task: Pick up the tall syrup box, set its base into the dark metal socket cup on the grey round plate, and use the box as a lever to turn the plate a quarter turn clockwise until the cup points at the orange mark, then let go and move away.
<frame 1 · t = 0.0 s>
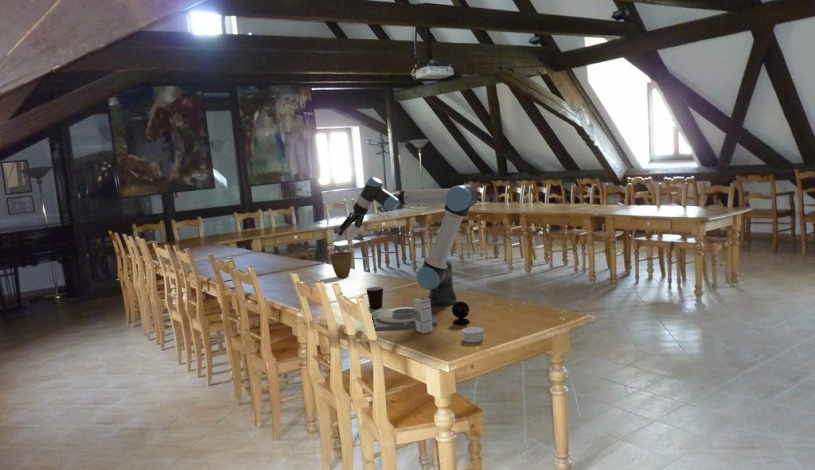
hand: (343, 238, 330), 36 cm above the table, tool tilted 35°, fingers open, 13 cm apart
grey round plate: (402, 312, 296), point 4 cm above the table, hinge at 0.0°
dial base: (403, 320, 296), on the table
coffee mug: (376, 307, 327), on the table
ramekin: (473, 340, 258), on the table
syrup box: (424, 331, 275), on the table
webcam: (461, 323, 285), on the table
plant pot: (342, 277, 417), on the table
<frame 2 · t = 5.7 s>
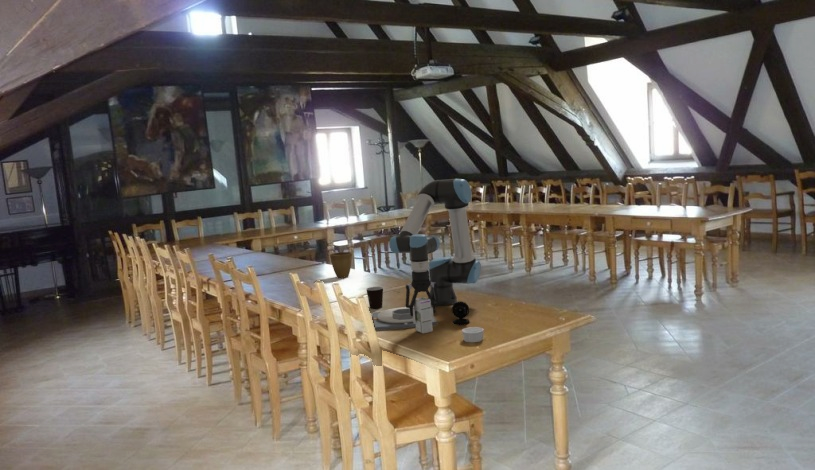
hand: (423, 322, 275), 4 cm above the table, tool pointing down, fingers closed on syrup box, 7 cm apart
syrup box: (424, 331, 275), on the table, touching gripper
everything else where it was.
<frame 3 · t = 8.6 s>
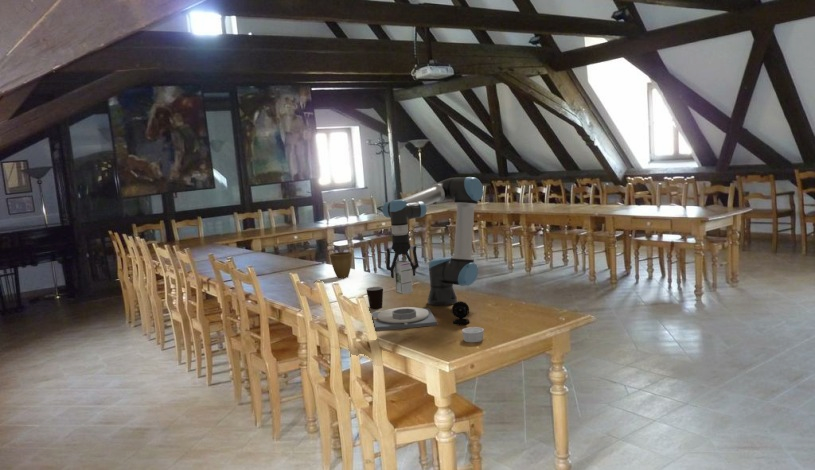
hand: (403, 283, 287), 19 cm above the table, tool pointing down, fingers closed on syrup box, 7 cm apart
syrup box: (404, 293, 288), point 14 cm above the table, touching gripper
everything else where it was.
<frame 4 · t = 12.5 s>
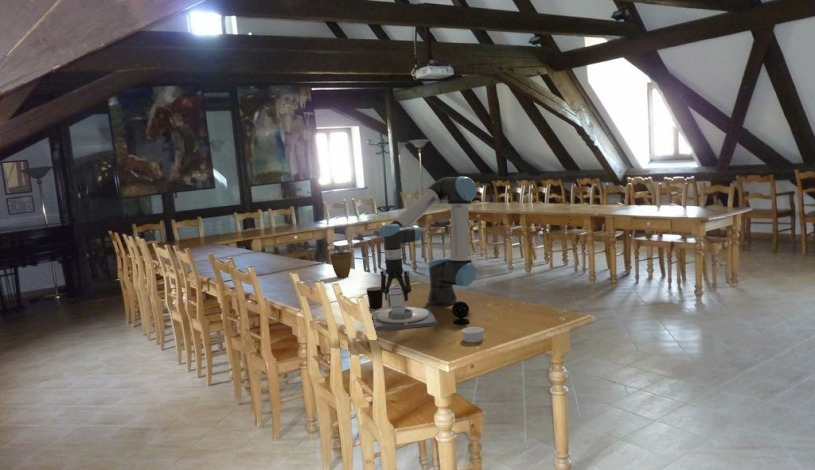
hand: (397, 307, 289), 8 cm above the table, tool pointing down, fingers closed on syrup box, 7 cm apart
grey round plate: (402, 312, 296), point 4 cm above the table, hinge at -14.6°, touching syrup box
syrup box: (398, 316, 290), point 3 cm above the table, touching grey round plate, gripper
everything else where it was.
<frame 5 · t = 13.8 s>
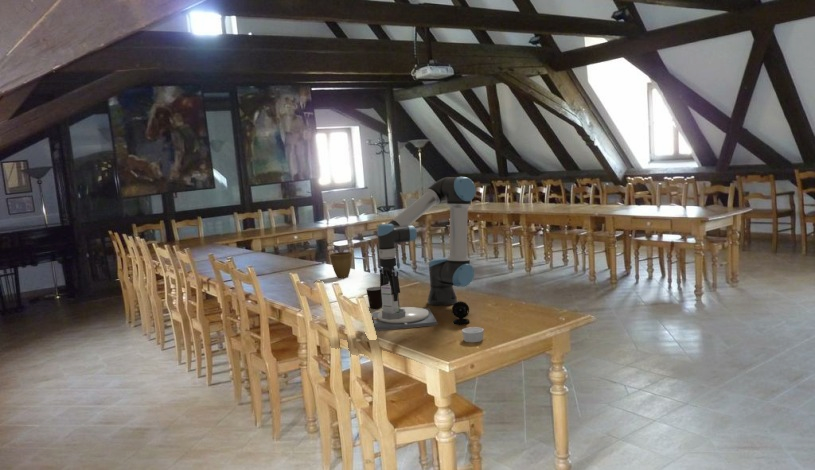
hand: (391, 306, 292), 8 cm above the table, tool pointing down, fingers closed on syrup box, 7 cm apart
grey round plate: (402, 312, 296), point 4 cm above the table, hinge at -47.4°, touching syrup box
syrup box: (391, 315, 292), point 3 cm above the table, touching grey round plate, gripper
everything else where it was.
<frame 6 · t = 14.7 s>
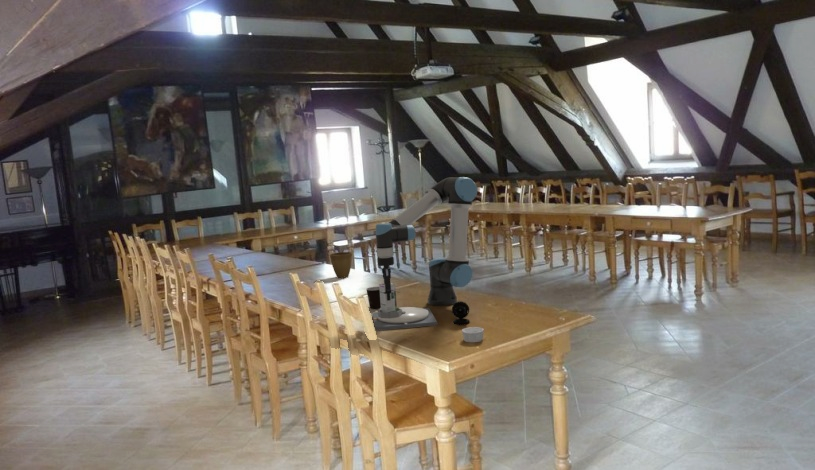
hand: (388, 305, 294), 8 cm above the table, tool pointing down, fingers closed on syrup box, 7 cm apart
grey round plate: (402, 312, 296), point 4 cm above the table, hinge at -73.7°, touching syrup box
syrup box: (389, 314, 295), point 3 cm above the table, touching grey round plate, gripper
everything else where it was.
when the fingers open (8 cm above the table, at t = 15.3 s): syrup box stays where it is, resting on grey round plate.
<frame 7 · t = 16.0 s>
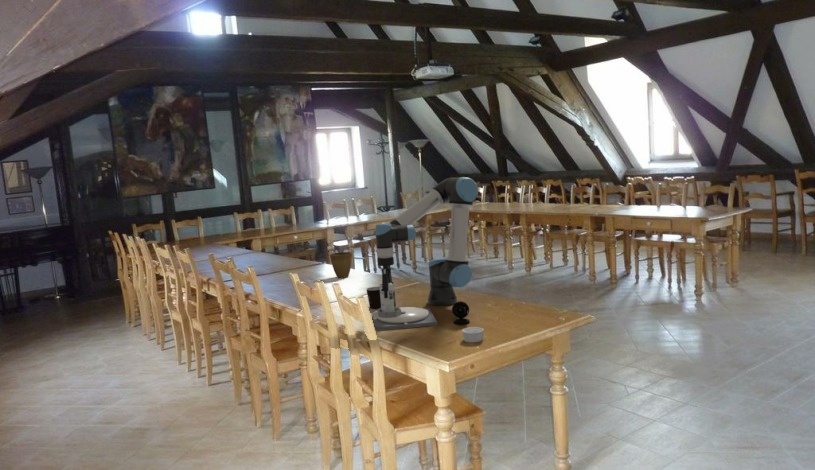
hand: (388, 301, 296), 9 cm above the table, tool pointing down, fingers open, 13 cm apart
grey round plate: (402, 312, 296), point 4 cm above the table, hinge at -84.4°, touching syrup box
syrup box: (388, 314, 296), point 3 cm above the table, touching grey round plate
everything else where it was.
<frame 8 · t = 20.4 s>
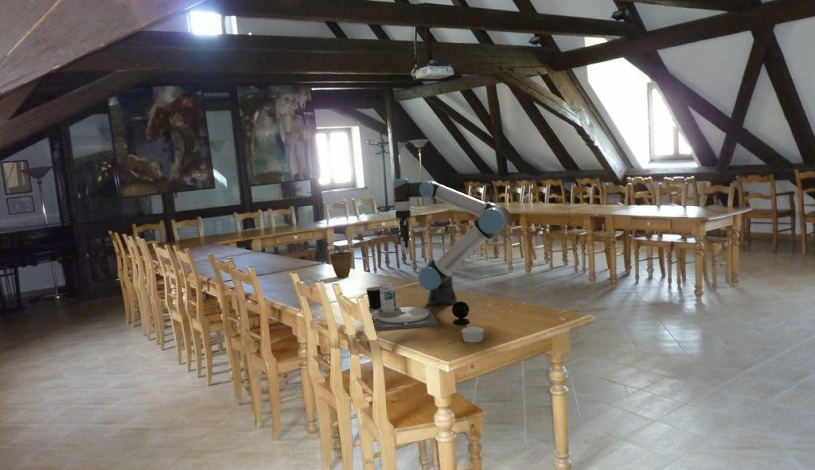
hand: (405, 252, 316), 29 cm above the table, tool pointing down, fingers open, 13 cm apart
nothing on the table moved.
at the end: grey round plate at -84° (first picture: +0°); syrup box inside the target area on the grey round plate (0.3 cm from its centre), point 3.1 cm above the grey round plate's base; syrup box tilted 0° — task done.
